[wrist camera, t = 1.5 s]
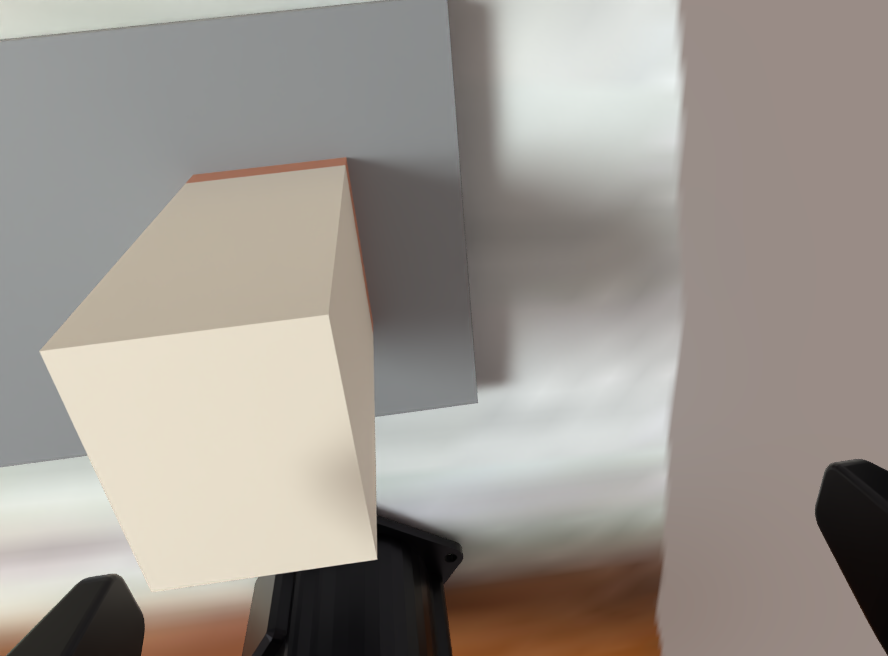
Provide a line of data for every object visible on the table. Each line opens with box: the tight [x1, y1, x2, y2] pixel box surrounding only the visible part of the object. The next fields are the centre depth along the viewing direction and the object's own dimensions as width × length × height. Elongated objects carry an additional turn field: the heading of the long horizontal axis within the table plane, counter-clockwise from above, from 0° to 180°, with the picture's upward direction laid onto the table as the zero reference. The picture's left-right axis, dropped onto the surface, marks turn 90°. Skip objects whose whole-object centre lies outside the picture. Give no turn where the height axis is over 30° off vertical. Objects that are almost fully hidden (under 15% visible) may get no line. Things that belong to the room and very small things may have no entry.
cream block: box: [39, 157, 377, 592], centre depth 14 cm, size 4×5×9 cm
